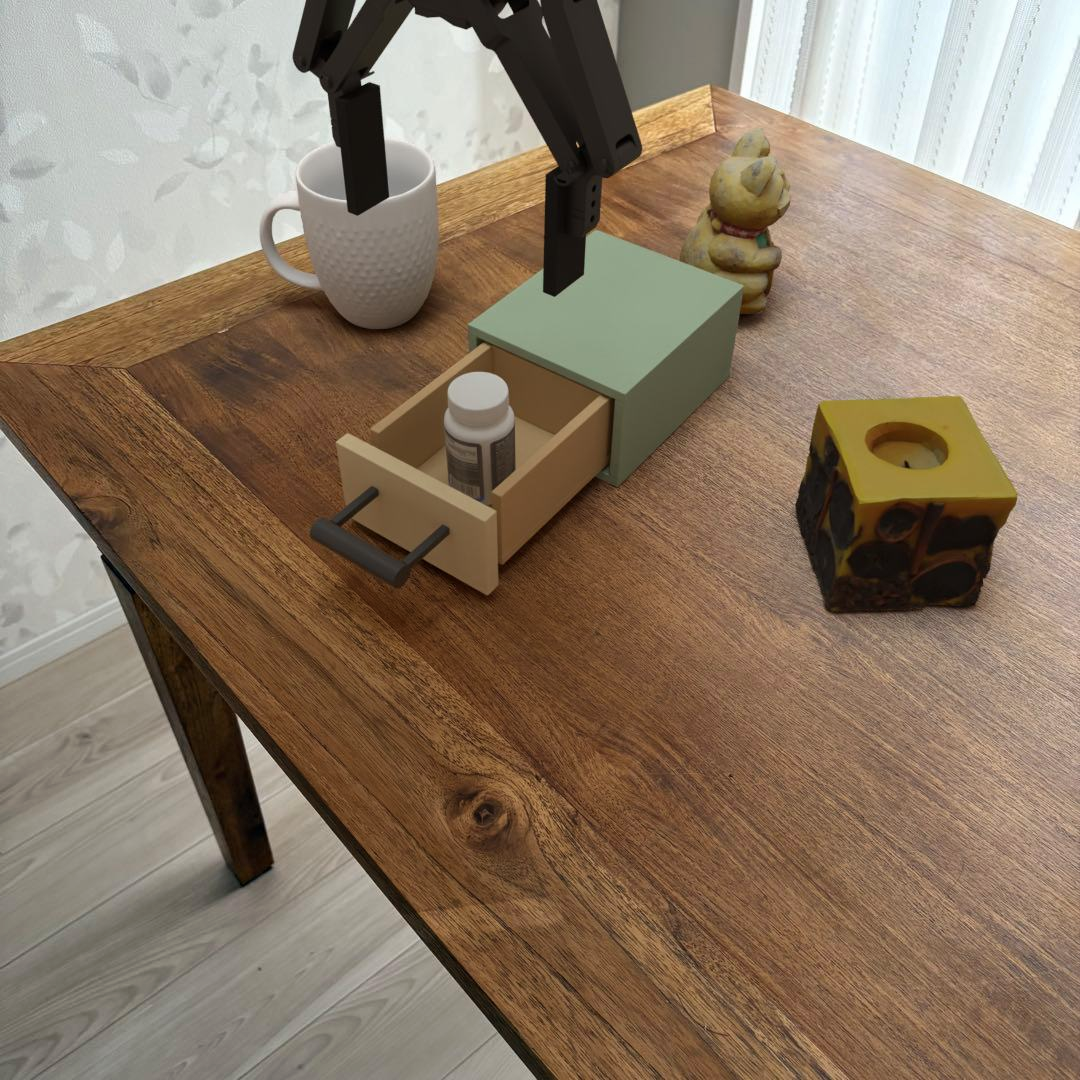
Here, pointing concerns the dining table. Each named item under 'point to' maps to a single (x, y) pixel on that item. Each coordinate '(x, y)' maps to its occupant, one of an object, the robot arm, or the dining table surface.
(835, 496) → the candle
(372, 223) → the mug
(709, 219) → the decorative figurine
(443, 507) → the drawer
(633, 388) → the cabinet
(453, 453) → the pill bottle
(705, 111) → the dining table surface
